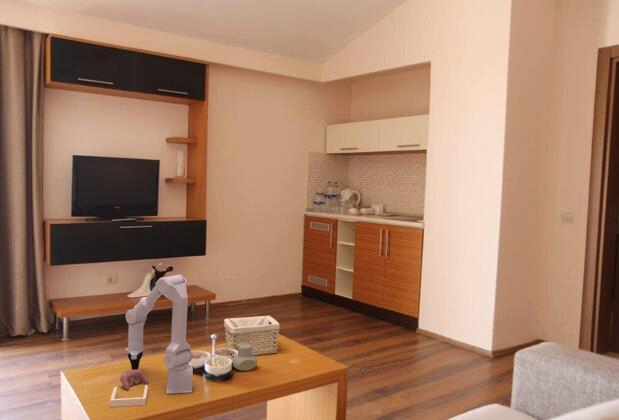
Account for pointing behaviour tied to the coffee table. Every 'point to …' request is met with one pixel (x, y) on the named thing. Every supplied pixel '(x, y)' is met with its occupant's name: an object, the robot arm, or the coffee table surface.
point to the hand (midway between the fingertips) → (135, 370)
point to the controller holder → (128, 399)
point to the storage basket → (253, 333)
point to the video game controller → (133, 374)
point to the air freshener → (244, 358)
